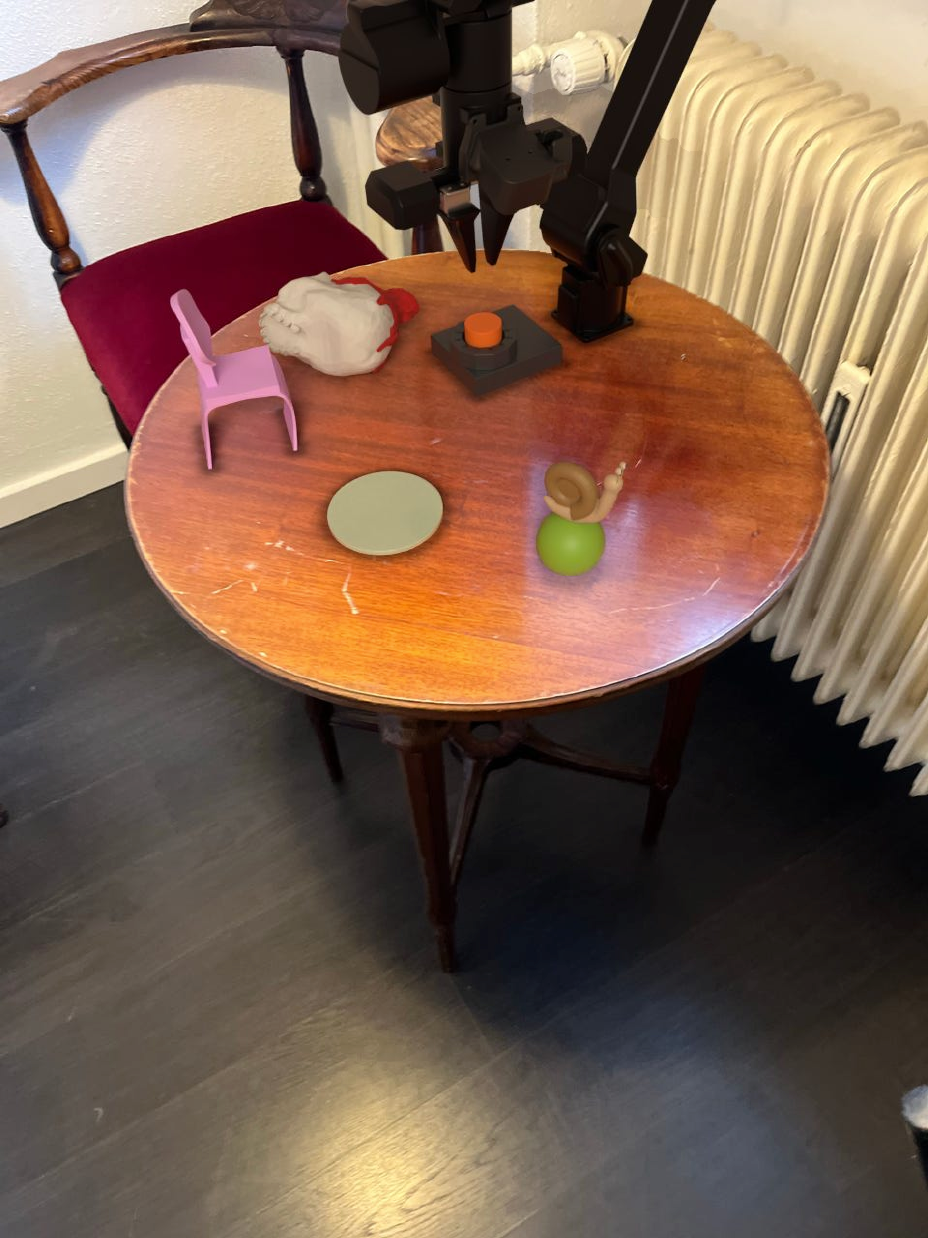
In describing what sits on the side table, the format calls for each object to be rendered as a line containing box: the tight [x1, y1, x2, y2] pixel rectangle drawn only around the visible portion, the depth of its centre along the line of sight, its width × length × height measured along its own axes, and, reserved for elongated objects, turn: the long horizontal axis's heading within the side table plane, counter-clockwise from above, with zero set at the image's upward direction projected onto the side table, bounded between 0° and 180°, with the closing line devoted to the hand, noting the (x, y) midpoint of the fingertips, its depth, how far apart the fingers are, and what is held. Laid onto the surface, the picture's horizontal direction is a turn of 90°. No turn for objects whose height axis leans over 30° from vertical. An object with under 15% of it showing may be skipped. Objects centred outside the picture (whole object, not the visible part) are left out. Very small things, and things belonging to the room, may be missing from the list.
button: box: [464, 311, 502, 348], centre depth 86 cm, size 4×4×2 cm
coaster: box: [326, 470, 444, 556], centre depth 77 cm, size 10×10×1 cm
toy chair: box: [170, 288, 298, 470], centre depth 78 cm, size 8×9×15 cm
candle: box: [258, 271, 421, 377], centre depth 89 cm, size 9×11×15 cm
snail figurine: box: [535, 461, 627, 577], centre depth 67 cm, size 5×6×12 cm
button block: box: [430, 303, 563, 398], centre depth 89 cm, size 10×9×4 cm
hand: (481, 267), depth 81 cm, fingers closed
